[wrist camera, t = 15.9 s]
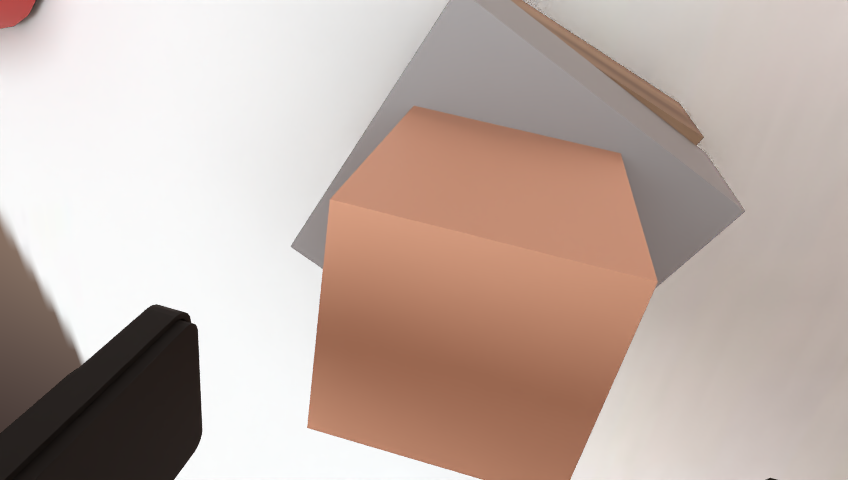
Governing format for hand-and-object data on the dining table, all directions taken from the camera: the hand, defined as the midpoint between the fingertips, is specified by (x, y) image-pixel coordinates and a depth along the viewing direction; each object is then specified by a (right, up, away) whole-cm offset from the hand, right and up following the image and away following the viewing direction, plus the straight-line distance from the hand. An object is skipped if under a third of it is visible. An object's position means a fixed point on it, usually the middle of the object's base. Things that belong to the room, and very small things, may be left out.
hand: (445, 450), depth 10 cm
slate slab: (+3, +6, +13) cm, 14 cm away
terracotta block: (+2, +4, +8) cm, 9 cm away
